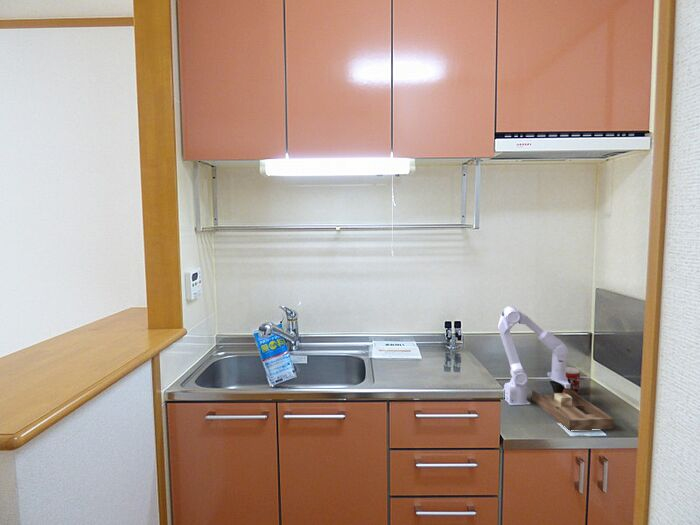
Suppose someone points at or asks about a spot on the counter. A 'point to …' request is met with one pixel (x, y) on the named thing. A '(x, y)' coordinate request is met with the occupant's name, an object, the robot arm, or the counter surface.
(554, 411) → the trough
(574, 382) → the canned food
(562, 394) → the block
